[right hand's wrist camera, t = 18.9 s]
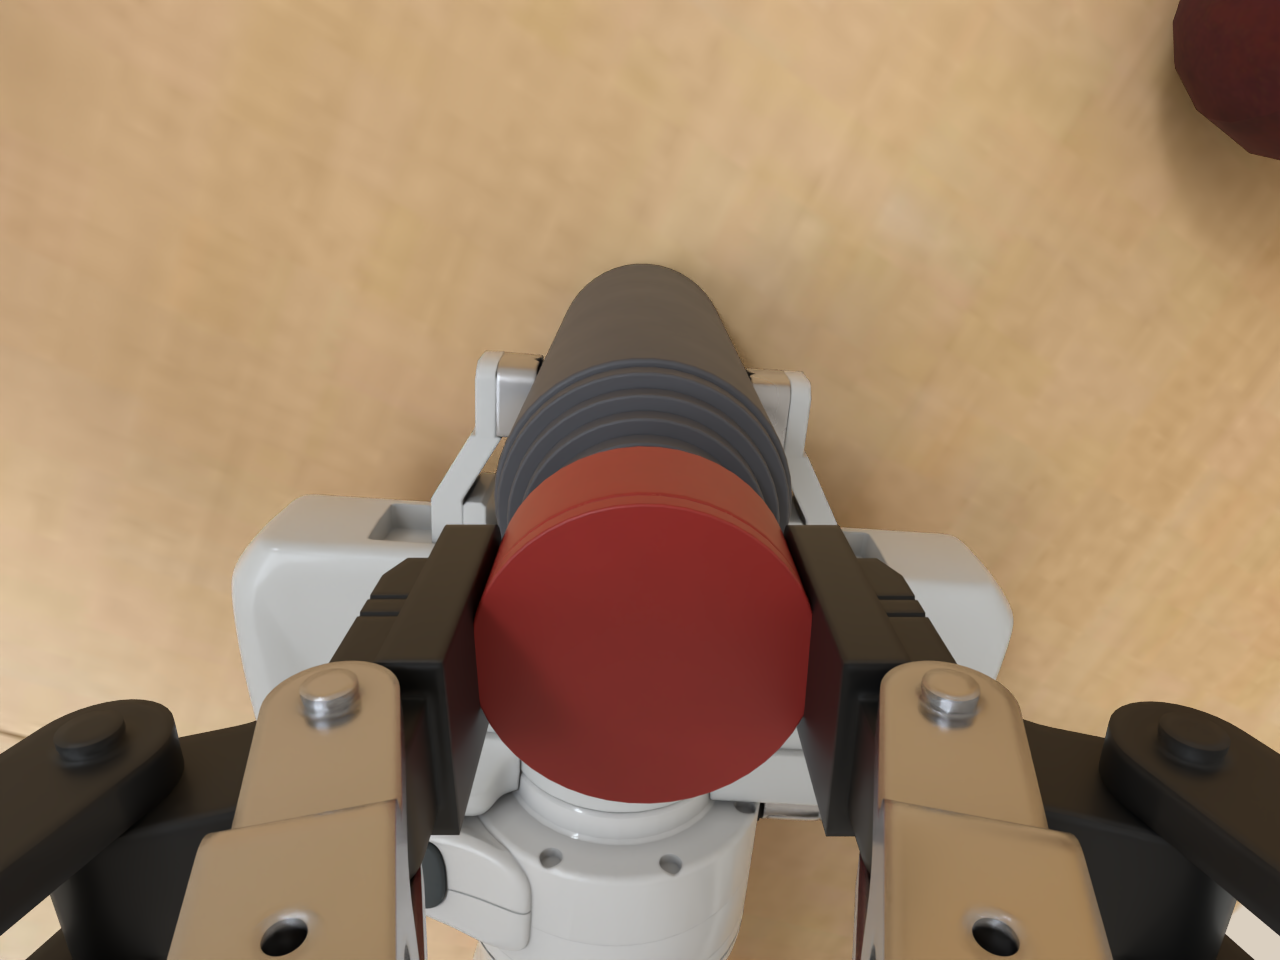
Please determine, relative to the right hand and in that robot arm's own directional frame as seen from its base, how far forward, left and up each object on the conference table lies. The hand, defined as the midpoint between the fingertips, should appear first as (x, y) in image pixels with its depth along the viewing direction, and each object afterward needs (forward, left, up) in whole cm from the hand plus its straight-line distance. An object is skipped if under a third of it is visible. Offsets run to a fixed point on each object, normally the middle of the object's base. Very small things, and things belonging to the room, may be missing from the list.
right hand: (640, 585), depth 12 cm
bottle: (0, 0, -16) cm, 16 cm away
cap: (0, 0, +2) cm, 2 cm away
